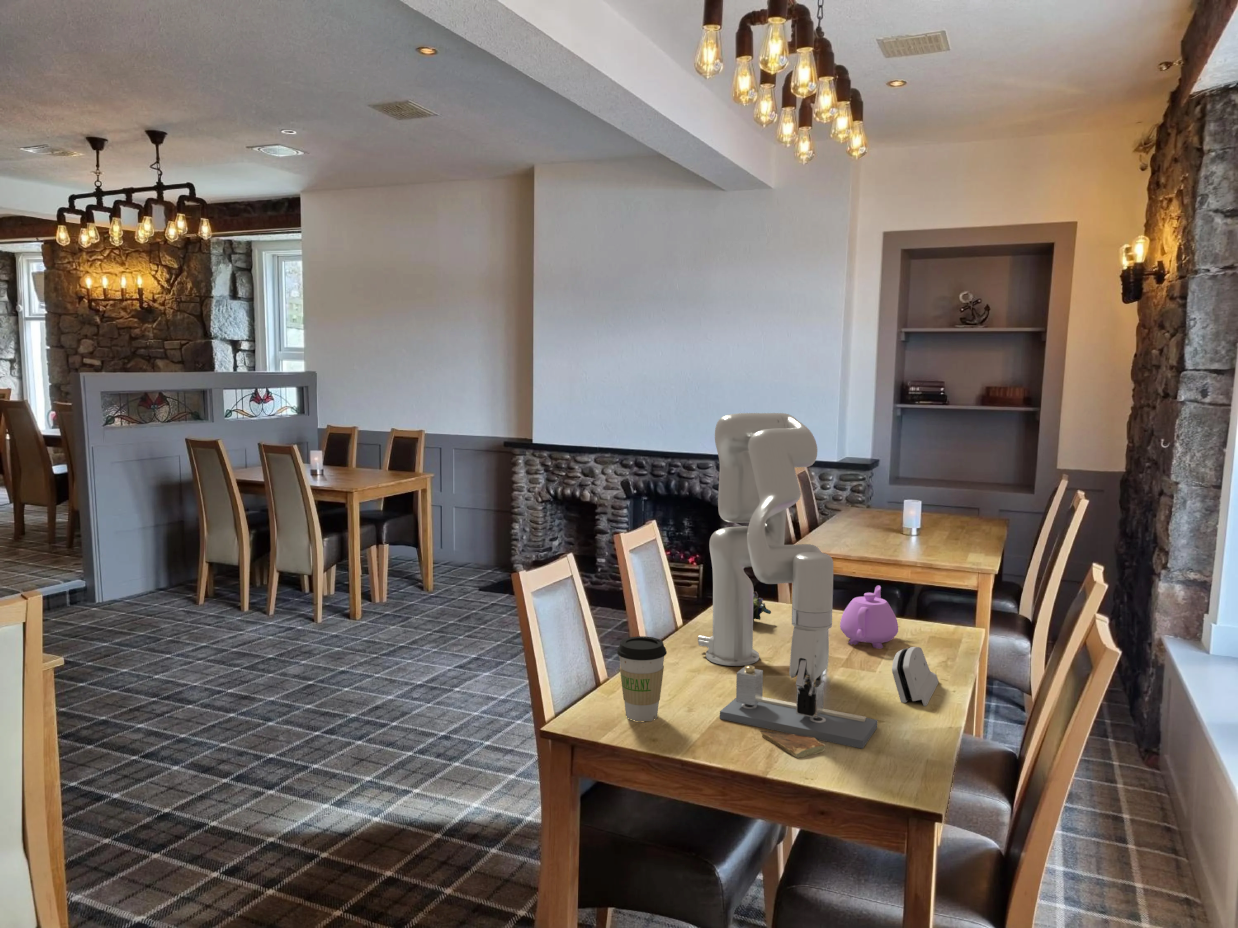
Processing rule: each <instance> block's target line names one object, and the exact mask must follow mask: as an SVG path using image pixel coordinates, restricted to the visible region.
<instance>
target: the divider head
mask: <svg viewBox="0 0 1238 928" xmlns="http://www.w3.org/2000/svg"><path fill="white" fill-rule="evenodd" d="M805 678H810V676H807V675H806V677H805ZM809 683H810V682H805V684H808V686H809ZM824 684H825V683H824V680H823V681H821V680H816V679H815V680H814V689H813V695H815V712H814V715H813V716H810V715H805V714H800V713H798V712H797V707H796V714H799V715H804V716H809V717H814V718H817V717H818V716H819V715H820V714H821V713H822V712H823V709H824V690H825V689H824V687H825V685H824ZM797 689H798V687H797V686H796V690H797ZM797 703H798V693H797V692H796V704H797Z"/></svg>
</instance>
